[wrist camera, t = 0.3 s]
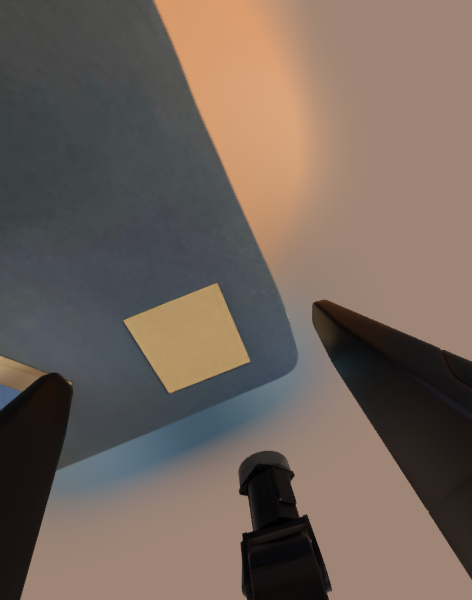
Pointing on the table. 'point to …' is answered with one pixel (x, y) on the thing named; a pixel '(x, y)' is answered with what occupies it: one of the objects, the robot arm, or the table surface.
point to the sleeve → (7, 395)
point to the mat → (189, 338)
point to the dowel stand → (18, 374)
